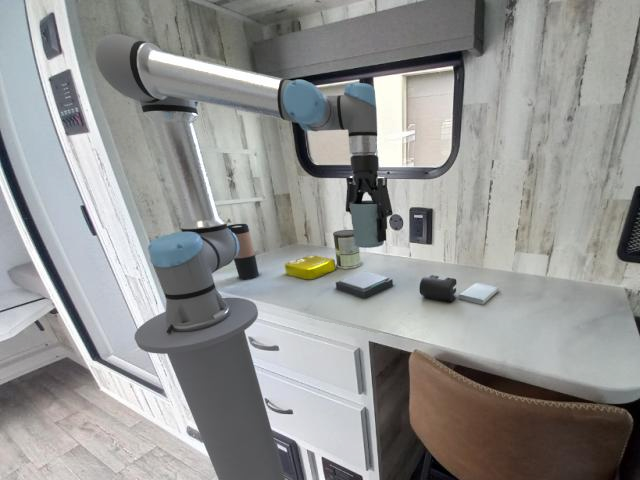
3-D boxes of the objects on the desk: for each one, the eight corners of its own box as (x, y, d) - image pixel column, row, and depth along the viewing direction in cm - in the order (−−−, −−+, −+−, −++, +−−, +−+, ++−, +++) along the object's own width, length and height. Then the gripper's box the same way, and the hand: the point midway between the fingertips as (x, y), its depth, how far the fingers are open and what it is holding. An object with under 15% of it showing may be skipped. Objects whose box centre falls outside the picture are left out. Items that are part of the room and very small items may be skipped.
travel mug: (234, 279, 119) (220, 227, 111) (247, 272, 126) (235, 223, 118) (251, 280, 117) (238, 227, 109) (263, 273, 124) (252, 223, 116)
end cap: (419, 300, 97) (419, 279, 94) (428, 292, 102) (428, 272, 99) (449, 305, 92) (449, 285, 89) (457, 297, 98) (458, 277, 95)
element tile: (310, 280, 115) (308, 268, 113) (284, 274, 123) (281, 263, 121) (337, 269, 127) (336, 258, 125) (312, 264, 134) (310, 253, 132)
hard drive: (483, 300, 91) (498, 286, 100) (458, 294, 96) (475, 281, 105) (483, 305, 92) (498, 291, 101) (458, 299, 97) (475, 286, 105)
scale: (364, 298, 99) (363, 289, 97) (336, 289, 107) (335, 280, 106) (392, 285, 108) (392, 277, 107) (365, 277, 117) (364, 269, 115)
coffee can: (331, 266, 130) (327, 233, 124) (347, 260, 138) (344, 228, 132) (350, 270, 125) (347, 235, 119) (365, 263, 133) (363, 230, 127)
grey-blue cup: (346, 244, 92) (342, 202, 87) (373, 238, 98) (371, 199, 93) (365, 250, 85) (362, 205, 80) (394, 243, 91) (392, 201, 86)
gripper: (405, 153, 77) (406, 241, 86) (347, 156, 91) (354, 232, 100) (384, 153, 72) (388, 246, 81) (327, 156, 85) (336, 236, 95)
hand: (369, 238), depth 91 cm, fingers closed on grey-blue cup, 9 cm apart
